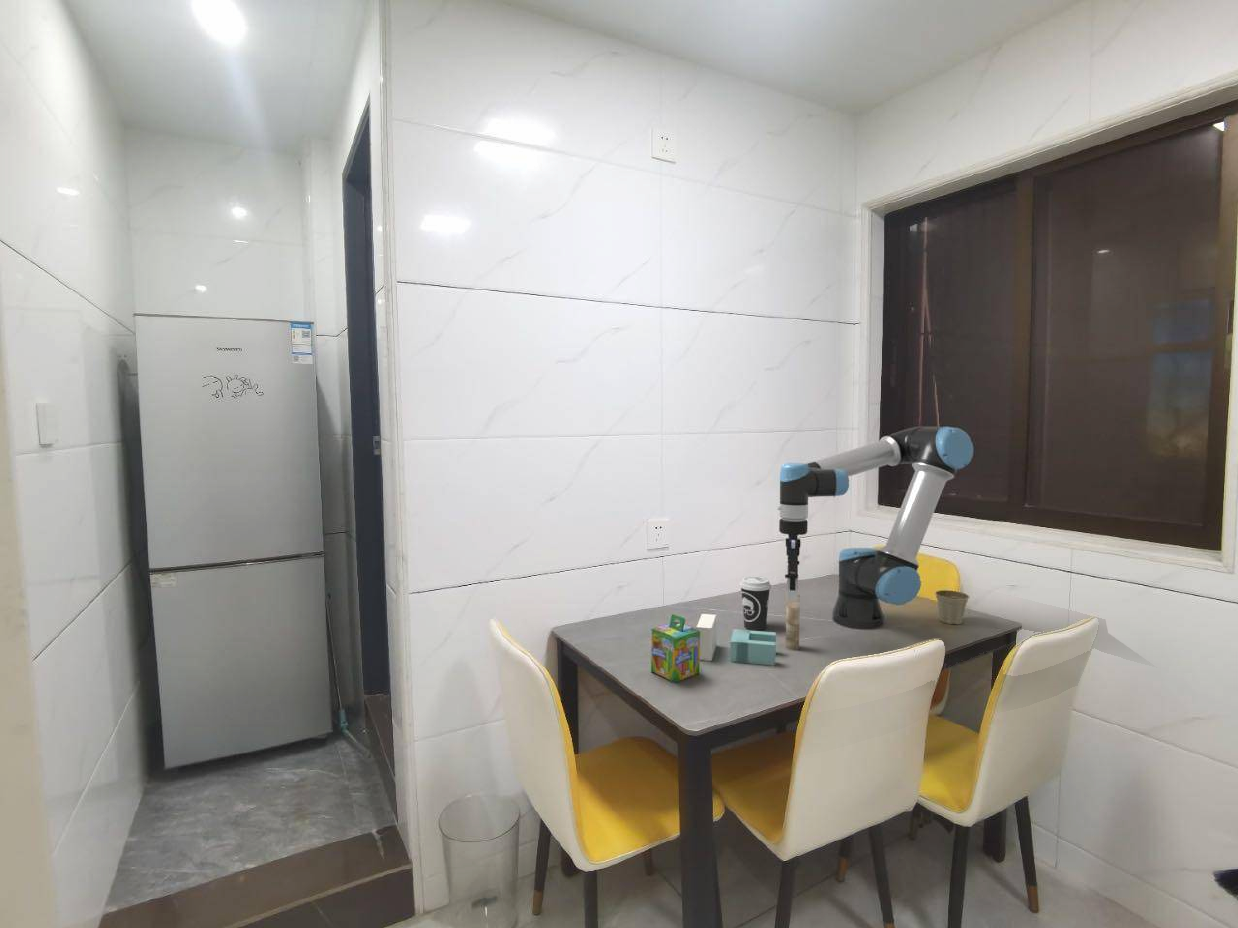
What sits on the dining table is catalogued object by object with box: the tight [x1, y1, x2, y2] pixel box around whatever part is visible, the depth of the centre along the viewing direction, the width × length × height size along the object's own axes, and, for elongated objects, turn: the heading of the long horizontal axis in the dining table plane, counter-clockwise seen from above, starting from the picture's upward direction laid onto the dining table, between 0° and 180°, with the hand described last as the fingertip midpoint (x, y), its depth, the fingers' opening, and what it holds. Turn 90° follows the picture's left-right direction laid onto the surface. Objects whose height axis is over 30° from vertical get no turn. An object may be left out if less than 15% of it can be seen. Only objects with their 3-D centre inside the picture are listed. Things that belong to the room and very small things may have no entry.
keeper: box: [730, 628, 777, 666], centre depth 165 cm, size 12×9×6 cm
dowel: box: [785, 594, 801, 651], centre depth 171 cm, size 4×4×15 cm
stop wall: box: [695, 613, 717, 662], centre depth 168 cm, size 4×11×9 cm, turn 165°
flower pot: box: [934, 589, 970, 625], centre depth 190 cm, size 9×9×9 cm
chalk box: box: [650, 613, 701, 684], centre depth 155 cm, size 9×9×15 cm
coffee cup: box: [739, 575, 772, 632], centre depth 187 cm, size 10×10×15 cm
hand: (792, 594), depth 170 cm, fingers open, 13 cm apart
